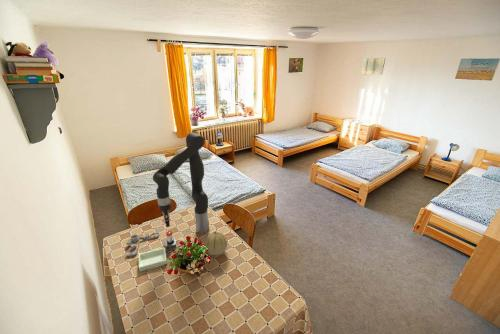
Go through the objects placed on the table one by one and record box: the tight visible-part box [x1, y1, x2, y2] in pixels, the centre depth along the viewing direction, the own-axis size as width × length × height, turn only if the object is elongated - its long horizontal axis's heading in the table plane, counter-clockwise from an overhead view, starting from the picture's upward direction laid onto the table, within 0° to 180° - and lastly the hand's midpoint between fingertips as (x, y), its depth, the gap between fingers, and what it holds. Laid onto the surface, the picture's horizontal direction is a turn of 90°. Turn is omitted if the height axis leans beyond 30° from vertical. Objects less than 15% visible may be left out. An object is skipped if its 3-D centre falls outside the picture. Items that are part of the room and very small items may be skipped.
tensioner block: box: [164, 237, 178, 251], centre depth 167 cm, size 7×7×3 cm
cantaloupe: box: [204, 231, 228, 256], centre depth 160 cm, size 15×15×15 cm
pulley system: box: [125, 230, 160, 258], centre depth 169 cm, size 27×5×15 cm
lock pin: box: [165, 230, 174, 245], centre depth 166 cm, size 4×4×11 cm
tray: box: [138, 246, 168, 272], centre depth 155 cm, size 16×12×3 cm
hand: (167, 222), depth 159 cm, fingers open, 8 cm apart
